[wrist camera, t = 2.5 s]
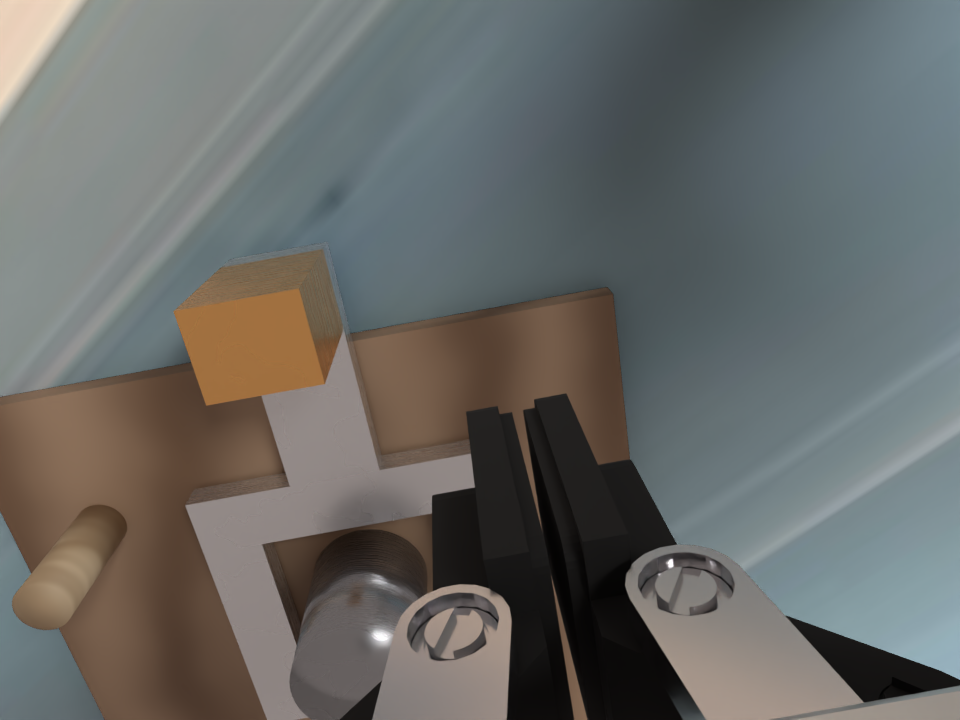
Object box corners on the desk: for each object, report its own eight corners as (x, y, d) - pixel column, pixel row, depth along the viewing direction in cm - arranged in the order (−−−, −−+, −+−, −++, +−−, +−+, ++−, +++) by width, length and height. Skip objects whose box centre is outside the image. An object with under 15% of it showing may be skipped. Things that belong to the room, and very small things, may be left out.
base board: (607, 286, 29) (613, 294, 28) (649, 693, 37) (655, 709, 36) (-33, 403, 29) (-49, 414, 28) (152, 783, 37) (145, 801, 36)
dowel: (117, 500, 30) (58, 580, 25) (134, 540, 30) (80, 624, 26) (69, 509, 30) (2, 590, 25) (87, 548, 30) (25, 634, 26)
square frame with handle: (523, 658, 34) (543, 777, 28) (274, 703, 34) (242, 831, 28) (441, 220, 26) (444, 262, 20) (116, 279, 26) (27, 337, 20)
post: (415, 519, 31) (412, 617, 25) (436, 610, 33) (438, 720, 27) (301, 540, 31) (273, 643, 25) (329, 630, 33) (309, 743, 27)
